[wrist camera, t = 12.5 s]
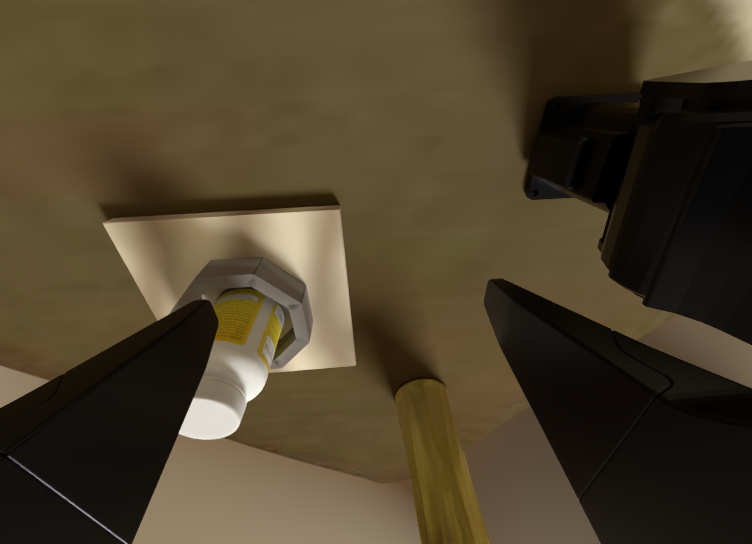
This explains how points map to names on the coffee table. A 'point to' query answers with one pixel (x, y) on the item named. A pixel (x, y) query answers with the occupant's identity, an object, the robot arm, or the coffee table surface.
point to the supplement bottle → (235, 362)
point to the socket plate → (251, 271)
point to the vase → (438, 467)
